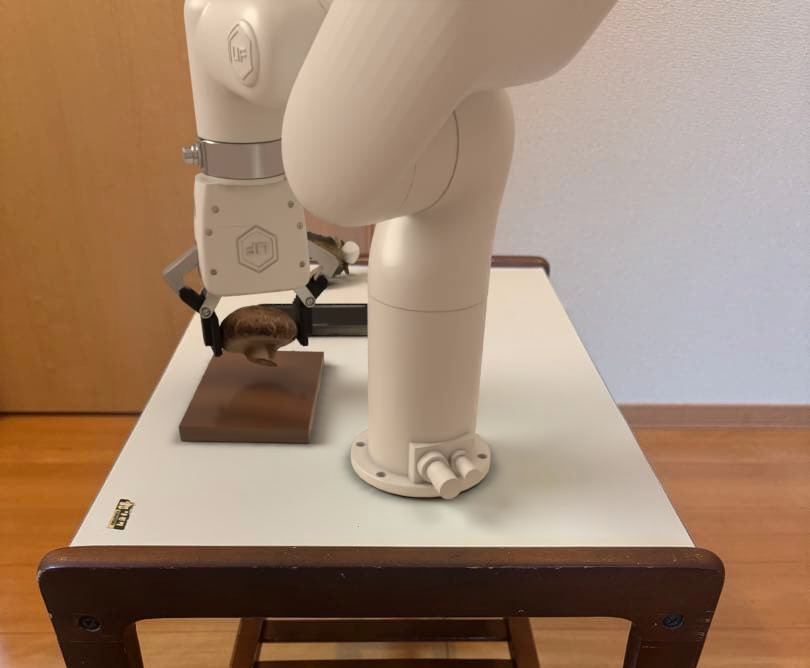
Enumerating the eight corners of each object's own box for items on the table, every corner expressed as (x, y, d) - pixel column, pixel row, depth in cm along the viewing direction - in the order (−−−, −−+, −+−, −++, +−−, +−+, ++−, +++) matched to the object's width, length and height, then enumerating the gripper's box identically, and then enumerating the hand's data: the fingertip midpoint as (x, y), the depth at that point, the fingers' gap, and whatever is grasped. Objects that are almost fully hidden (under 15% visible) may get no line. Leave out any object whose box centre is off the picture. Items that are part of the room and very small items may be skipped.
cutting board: (309, 443, 74) (308, 429, 73) (180, 440, 74) (178, 426, 73) (324, 364, 88) (324, 351, 87) (217, 361, 88) (215, 349, 87)
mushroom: (282, 354, 74) (267, 288, 74) (210, 376, 77) (196, 313, 77) (317, 363, 82) (304, 304, 82) (251, 383, 84) (238, 326, 84)
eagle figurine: (323, 256, 116) (275, 257, 110) (345, 219, 111) (296, 217, 105) (349, 296, 114) (302, 299, 108) (373, 260, 109) (325, 261, 103)
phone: (254, 303, 100) (373, 303, 101) (255, 312, 100) (373, 311, 101) (249, 326, 93) (376, 326, 94) (250, 336, 94) (376, 335, 95)
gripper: (147, 173, 64) (177, 372, 74) (350, 163, 69) (352, 350, 80) (137, 154, 70) (166, 342, 80) (326, 146, 75) (331, 323, 85)
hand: (259, 345), depth 80 cm, fingers closed on mushroom, 8 cm apart
